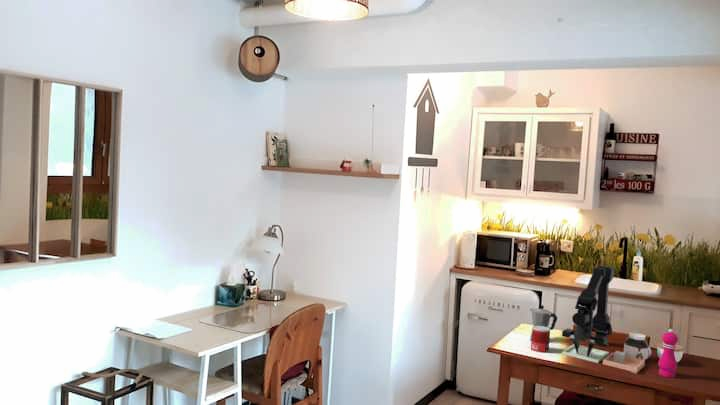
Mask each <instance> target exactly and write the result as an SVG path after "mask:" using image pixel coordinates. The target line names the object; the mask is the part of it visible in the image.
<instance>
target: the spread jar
mask: <svg viewBox="0 0 720 405" xmlns="http://www.w3.org/2000/svg"><path fill="white" fill-rule="evenodd" d="M623 352H624V353H626V356H628V357H633V358H637V359H641V360H645V361H646V360H647V359H648V358H650V357H651V355H652V349H651V347H650V346H649V344H648V342H647V340H646V335H645V334H642V333H638V332H630V333H628V337H627V338H626V339H625V341H624V344H623Z"/></svg>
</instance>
